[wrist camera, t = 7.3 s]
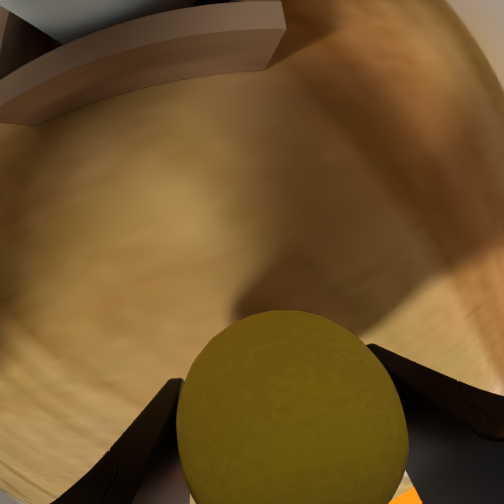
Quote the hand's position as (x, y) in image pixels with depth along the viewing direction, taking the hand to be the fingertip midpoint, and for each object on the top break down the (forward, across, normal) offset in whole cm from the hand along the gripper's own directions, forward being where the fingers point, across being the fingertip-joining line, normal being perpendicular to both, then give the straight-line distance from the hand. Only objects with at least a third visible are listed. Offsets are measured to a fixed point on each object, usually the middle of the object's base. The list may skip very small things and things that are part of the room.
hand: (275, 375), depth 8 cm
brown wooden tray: (+2, +3, -13) cm, 13 cm away
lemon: (+2, 0, 0) cm, 2 cm away
